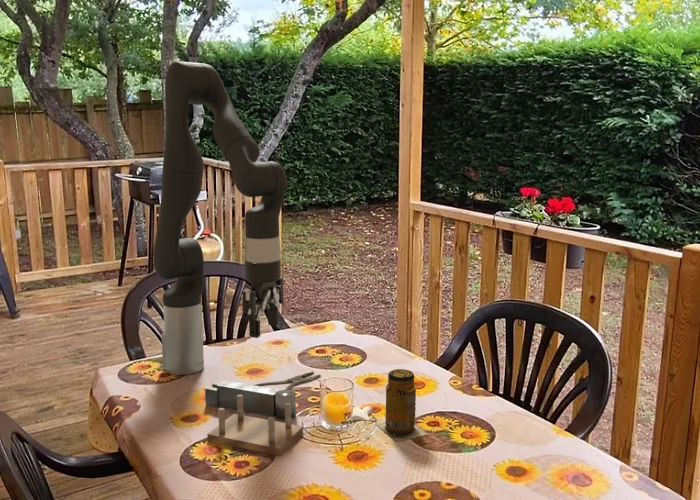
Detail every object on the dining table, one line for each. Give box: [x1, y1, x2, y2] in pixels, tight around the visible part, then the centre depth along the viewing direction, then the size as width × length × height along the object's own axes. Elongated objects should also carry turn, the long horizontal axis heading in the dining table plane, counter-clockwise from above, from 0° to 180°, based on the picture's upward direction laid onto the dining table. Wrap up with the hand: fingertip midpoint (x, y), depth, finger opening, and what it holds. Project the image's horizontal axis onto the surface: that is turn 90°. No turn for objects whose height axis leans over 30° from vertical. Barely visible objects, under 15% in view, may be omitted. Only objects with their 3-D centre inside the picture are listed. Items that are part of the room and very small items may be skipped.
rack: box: [206, 395, 304, 457], centre depth 135 cm, size 16×10×6 cm, turn 68°
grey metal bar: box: [204, 380, 297, 421], centre depth 148 cm, size 21×4×5 cm, turn 68°
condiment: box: [376, 368, 428, 442], centre depth 138 cm, size 7×8×12 cm
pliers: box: [253, 371, 322, 390], centre depth 162 cm, size 10×1×20 cm
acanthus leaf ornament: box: [351, 405, 374, 423], centre depth 146 cm, size 8×7×2 cm
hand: (264, 331), depth 146 cm, fingers open, 8 cm apart
